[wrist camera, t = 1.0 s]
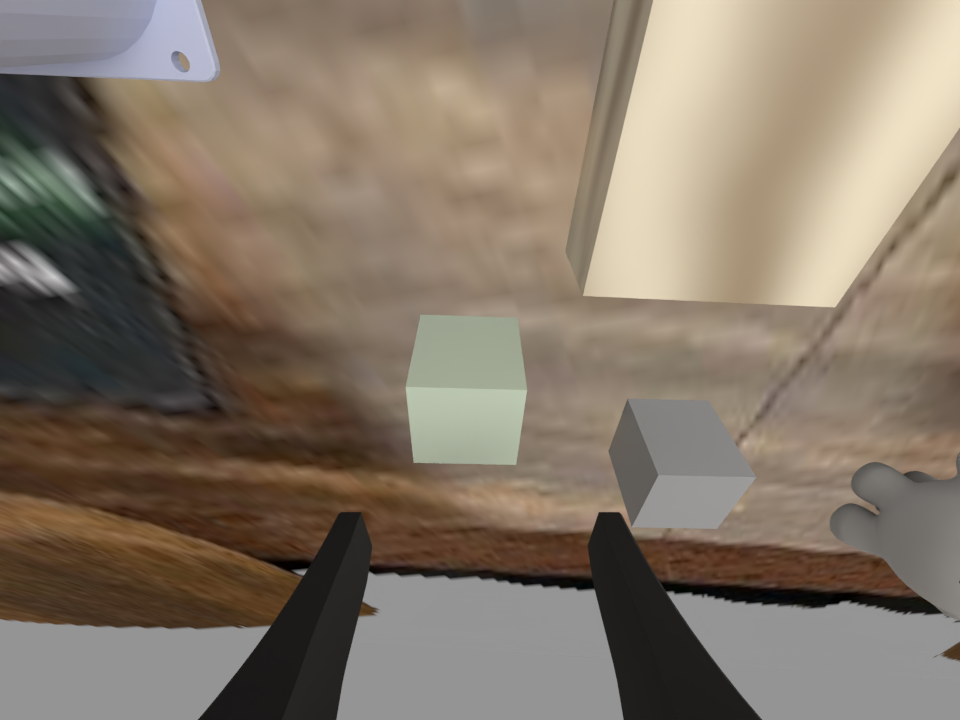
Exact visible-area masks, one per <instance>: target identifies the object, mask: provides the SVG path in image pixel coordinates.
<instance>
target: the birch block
mask: <svg viewBox="0 0 960 720" xmlns="http://www.w3.org/2000/svg"><path fill="white" fill-rule="evenodd" d="M959 128H960V0H614V1H613V7H612V12H611V17H610V22H609V27H608V33H607V38H606V43H605V48H604V53H603V58H602V64H601V69H600V74H599V79H598V84H597V90H596V95H595V100H594V105H593V110H592V115H591V121H590V126H589V131H588V136H587V141H586V147H585V152H584V157H583V162H582V167H581V172H580V178H579V183H578V188H577V193H576V198H575V204H574V209H573V214H572V219H571V224H570V229H569V235H568V240H567V245H566V250H565V252H566V255H567V257H568V260H569V262H570V265H571V267H572V270H573V272H574V275H575V277H576V280H577V283H578V285H579V288H580V290H581V293H582V295H583V296H595V297H617V298H639V299H660V300H682V301H704V302H726V303H748V304H770V305H792V306H814V307H836V306H837V304H838V303H839V301H840V300H841V298H842V297H843V296H844V294H845V293H846V291H847V290H848V288H849V287H850V285H851V284H852V283H853V281H854V280H855V278H856V277H857V275H858V274H859V272H860V271H861V270H862V268H863V267H864V265H865V264H866V262H867V261H868V259H869V258H870V257H871V255H872V254H873V252H874V251H875V249H876V248H877V247H878V245H879V244H880V242H881V241H882V239H883V238H884V236H885V235H886V234H887V232H888V231H889V229H890V228H891V226H892V225H893V223H894V222H895V221H896V219H897V218H898V216H899V215H900V213H901V212H902V210H903V209H904V208H905V206H906V205H907V203H908V202H909V200H910V199H911V197H912V196H913V195H914V193H915V192H916V190H917V189H918V187H919V186H920V185H921V183H922V182H923V180H924V179H925V177H926V176H927V174H928V173H929V172H930V170H931V169H932V167H933V166H934V164H935V163H936V161H937V160H938V159H939V157H940V156H941V154H942V153H943V151H944V150H945V148H946V147H947V146H948V144H949V143H950V141H951V140H952V138H953V137H954V135H955V134H956V133H957V131H958V130H959Z"/></svg>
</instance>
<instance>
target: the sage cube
mask: <svg viewBox="0 0 960 720" xmlns="http://www.w3.org/2000/svg"><path fill="white" fill-rule="evenodd" d="M526 394H527V385H526V378H525V370H524V363H523V355H522V348H521V340H520V333H519V325H518V318H516V317H483V316H450V315H420V320H419V325H418V330H417V335H416V339H415V344H414V349H413V354H412V359H411V363H410V368H409V373H408V378H407V383H406V396H407V405H408V414H409V424H410V433H411V443H412V452H413V461H414V463H448V464H495V465H516V462H517V455H518V449H519V442H520V435H521V428H522V422H523V415H524V408H525V401H526Z"/></svg>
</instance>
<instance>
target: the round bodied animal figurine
mask: <svg viewBox="0 0 960 720" xmlns="http://www.w3.org/2000/svg"><path fill="white" fill-rule="evenodd" d="M956 468H957V475H956V476H955V477H953V478H951V479H947V480H938V479H936V478H935V477H933V476H931V475H929V474H926V473H923V472H920V471H910V472H907V473H904V474H902V473H900V472H899V471H897V470H896V469H894V468H892V467H890V466H888V465H885V464H883V463H879V462H871V463H868V464H866V465H864V466H862V467H861V468H860V469H858V470H857V471H856V472H855V474H854V475H853V477H852V480H851V487H852V490H853V492H854V493H855V494H856V495H857V496H858V497H860V498H861V499H863V500H864V501H866V502H868V503H870V504H872V505H874V506H875V507H876V510H878V511H880V513H879V515H876V514H875V513H873V512H871V511H870V510H868V509H866V508H864V507H862V506H860V505H857V504H853V503H848V504H845V505H842V506H841V507H839V508H838V509H837V510H835V512H834V513H833V514H832V516H831V518H830V530H831V532H832V533H833V535H834V536H835V537H836V538H838V539H839V540H840V541H842V542H844V543H845V544H847V545H849V546H851V547H853V548H856V549H858V550H861V551H864V552H867V553H870V554H874V555H877V556H879V557H881V558H883V559H884V560H885V561H886V562H887V563H888V564H889V566H890V567H891V569H892V570H893V571H894V572H895V574H896V575H897V576H898V577H899V578H900V579H901V580H902V581H903V582H904V583H905V584H906V585H907V586H908V587H909V588H911V589H912V590H913V591H914V592H916V593H917V594H918V595H920V596H921V597H923V598H924V599H926V600H927V601H929V602H930V603H932V604H933V605H934V606H935V607H936V608H938V609H939V610H940V611H941V612H942V613H944V614H945V615H947V616H949V617H951V618H954V619H959V620H960V453H959V454H958V456H957V458H956Z"/></svg>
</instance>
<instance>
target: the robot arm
mask: <svg viewBox="0 0 960 720" xmlns="http://www.w3.org/2000/svg"><path fill="white" fill-rule="evenodd" d="M180 52H181V53H183V54H184V55H185V56H186V57H187V59H188V61H189V63H190V69H189V71H187V70H186V69H185V68H183V67H182V65H181V63H180V62H179V56H178V55H179V53H180ZM0 73H3V74H26V75H49V76H72V77H95V78H118V79H141V80H164V81H187V82H209V81H213V80H216V79H217V78H218V77H219V73H220V64H219V60H218V56H217V53H216V50H215V46H214V43H213V39H212V36H211V33H210V29H209V26H208V22H207V19H206V16H205V12H204V9H203V5H202V2H201V0H0ZM371 552H372V543H371V540H370V537H369V534H368V531H367V528H366V525H365V522H364V519H363V516H362V513H361V512H341V513H339V514H338V516H337V518H336V520H335V522H334V523H333V525H332V527H331V529H330V531H329V533H328V535H327V537H326V538H325V540H324V542H323V544H322V546H321V547H320V549H319V551H318V553H317V554H316V556H315V558H314V560H313V561H312V563H311V565H310V566H309V568H308V570H307V571H306V573H305V574H304V576H303V578H302V579H301V581H300V583H299V584H298V586H297V587H296V589H295V591H294V592H293V594H292V595H291V597H290V598H289V600H288V601H287V603H286V604H285V606H284V607H283V609H282V610H281V612H280V613H279V615H278V616H277V618H276V619H275V621H274V622H273V624H272V625H271V627H270V628H269V629H268V631H267V632H266V634H265V635H264V636H263V638H262V639H261V641H260V642H259V643H258V645H257V646H256V647H255V649H254V650H253V652H252V653H251V654H250V655H249V657H248V658H247V659H246V661H245V662H244V663H243V665H242V666H241V667H240V669H239V670H238V671H237V673H236V674H235V675H234V676H233V677H232V679H231V680H230V681H229V682H228V684H227V685H226V686H225V687H224V689H223V690H222V691H221V692H220V694H219V695H218V696H217V697H216V699H215V700H214V701H213V702H212V703H211V705H210V706H209V707H208V708H207V710H206V711H205V712H204V713H203V714H202V715H201V717H200V718H199V719H198V720H336V719H337V713H338V707H339V701H340V695H341V689H342V683H343V679H344V674H345V669H346V665H347V661H348V657H349V653H350V649H351V645H352V641H353V637H354V633H355V629H356V625H357V621H358V617H359V613H360V609H361V605H362V601H363V597H364V593H365V589H366V585H367V580H368V573H369V567H370V559H371ZM588 552H589V560H590V567H591V573H592V580H593V585H594V589H595V593H596V597H597V601H598V605H599V609H600V613H601V617H602V621H603V625H604V629H605V633H606V637H607V641H608V645H609V649H610V653H611V657H612V661H613V665H614V670H615V674H616V679H617V684H618V690H619V696H620V702H621V708H622V713H623V719H624V720H762V719H761V718H760V716H759V715H758V714H757V713H756V712H755V711H754V710H753V708H752V707H751V706H750V705H749V704H748V702H747V701H746V700H745V699H744V698H743V697H742V695H741V694H740V693H739V692H738V690H737V689H736V688H735V687H734V685H733V684H732V683H731V682H730V680H729V679H728V678H727V677H726V675H725V674H724V673H723V671H722V670H721V669H720V668H719V666H718V665H717V664H716V662H715V661H714V660H713V658H712V657H711V656H710V654H709V653H708V652H707V650H706V649H705V648H704V646H703V645H702V644H701V642H700V641H699V639H698V638H697V637H696V635H695V634H694V632H693V631H692V630H691V628H690V627H689V625H688V624H687V622H686V621H685V619H684V618H683V617H682V615H681V614H680V612H679V611H678V609H677V608H676V606H675V605H674V603H673V602H672V600H671V599H670V597H669V595H668V594H667V592H666V591H665V589H664V588H663V586H662V584H661V583H660V581H659V580H658V578H657V576H656V575H655V573H654V572H653V570H652V568H651V567H650V565H649V563H648V562H647V560H646V558H645V556H644V555H643V553H642V551H641V549H640V548H639V546H638V544H637V542H636V541H635V539H634V537H633V535H632V533H631V531H630V529H629V528H628V526H627V524H626V522H625V520H624V518H623V516H622V514H621V513H620V512H599V513H598V516H597V519H596V522H595V525H594V528H593V531H592V534H591V537H590V540H589V543H588Z"/></svg>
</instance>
